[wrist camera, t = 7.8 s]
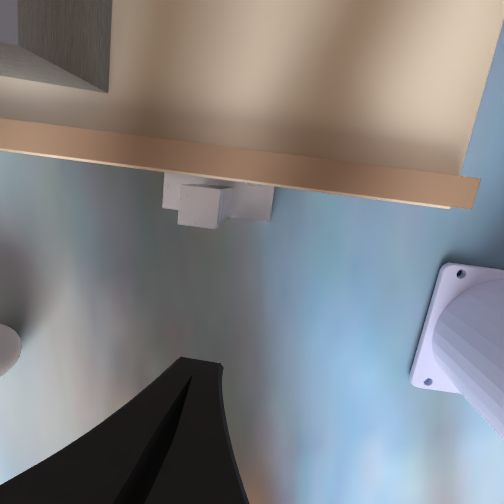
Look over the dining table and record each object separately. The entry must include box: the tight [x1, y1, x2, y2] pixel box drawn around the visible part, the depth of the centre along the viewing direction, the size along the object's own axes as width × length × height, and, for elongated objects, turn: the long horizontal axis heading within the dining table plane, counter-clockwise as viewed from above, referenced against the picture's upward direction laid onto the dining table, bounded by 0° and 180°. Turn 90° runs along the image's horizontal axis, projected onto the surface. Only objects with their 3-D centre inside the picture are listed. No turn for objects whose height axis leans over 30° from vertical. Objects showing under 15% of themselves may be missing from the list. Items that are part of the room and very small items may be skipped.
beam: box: [0, 0, 504, 209], centre depth 10 cm, size 21×10×3 cm, turn 83°
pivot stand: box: [162, 172, 275, 229], centre depth 13 cm, size 6×14×5 cm, turn 173°
